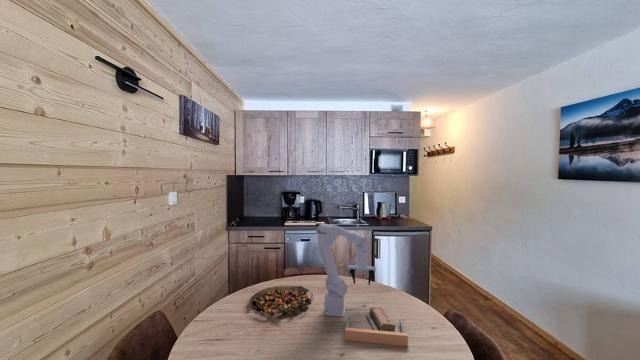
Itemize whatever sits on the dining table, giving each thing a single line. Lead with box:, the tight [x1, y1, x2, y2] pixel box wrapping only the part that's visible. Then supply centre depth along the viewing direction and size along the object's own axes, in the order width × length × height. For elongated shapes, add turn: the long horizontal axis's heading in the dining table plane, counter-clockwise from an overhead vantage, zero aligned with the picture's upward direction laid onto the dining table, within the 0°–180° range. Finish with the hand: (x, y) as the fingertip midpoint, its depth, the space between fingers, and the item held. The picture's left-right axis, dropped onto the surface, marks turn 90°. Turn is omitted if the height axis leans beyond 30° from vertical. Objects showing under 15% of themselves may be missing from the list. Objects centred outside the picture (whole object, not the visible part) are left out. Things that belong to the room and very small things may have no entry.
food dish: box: [247, 285, 314, 321], centre depth 141 cm, size 35×33×8 cm
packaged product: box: [366, 306, 399, 332], centre depth 121 cm, size 18×5×10 cm
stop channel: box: [344, 314, 409, 347], centre depth 115 cm, size 24×16×4 cm, turn 80°
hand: (361, 283), depth 143 cm, fingers open, 7 cm apart
